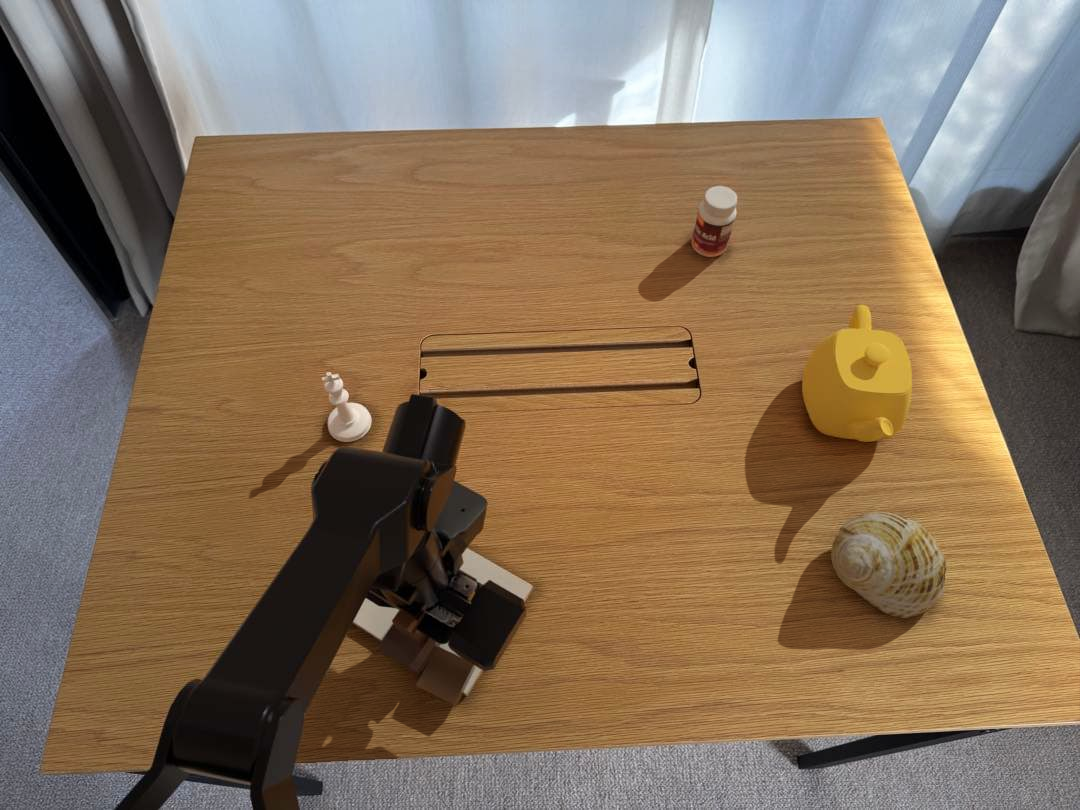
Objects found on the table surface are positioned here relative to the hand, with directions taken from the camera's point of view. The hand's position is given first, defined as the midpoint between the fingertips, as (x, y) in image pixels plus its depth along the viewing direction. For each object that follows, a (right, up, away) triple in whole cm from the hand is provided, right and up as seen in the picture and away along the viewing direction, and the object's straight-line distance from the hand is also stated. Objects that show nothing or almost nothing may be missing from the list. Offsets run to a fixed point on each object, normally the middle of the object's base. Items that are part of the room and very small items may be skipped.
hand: (428, 611), depth 72 cm
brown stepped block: (0, -2, +3) cm, 3 cm away
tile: (-1, 0, +5) cm, 5 cm away
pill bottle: (+33, +40, +30) cm, 60 cm away
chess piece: (-11, +17, +16) cm, 26 cm away
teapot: (+45, +18, +16) cm, 52 cm away
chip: (+2, -6, 0) cm, 6 cm away
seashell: (+44, +2, +6) cm, 45 cm away
